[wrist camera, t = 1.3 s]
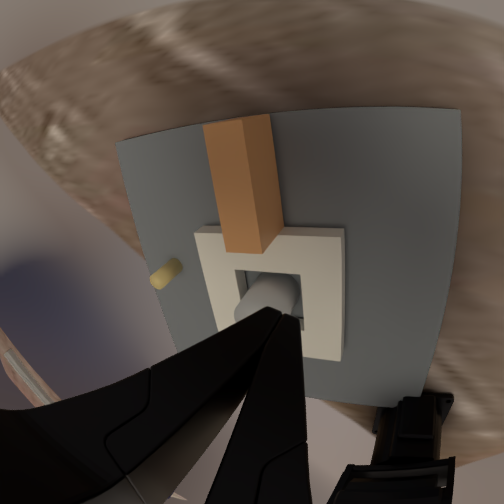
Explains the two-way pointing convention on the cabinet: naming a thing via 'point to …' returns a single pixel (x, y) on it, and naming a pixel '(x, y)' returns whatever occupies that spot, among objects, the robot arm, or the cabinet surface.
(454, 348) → the cabinet surface
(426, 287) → the slate board
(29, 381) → the envelope
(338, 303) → the brown white angular piece
